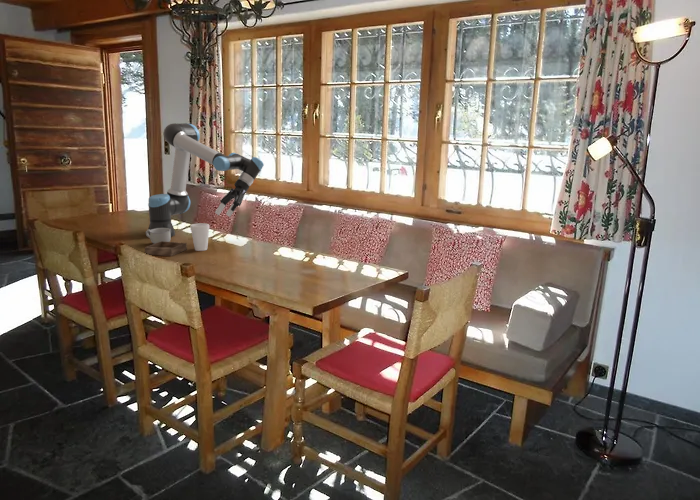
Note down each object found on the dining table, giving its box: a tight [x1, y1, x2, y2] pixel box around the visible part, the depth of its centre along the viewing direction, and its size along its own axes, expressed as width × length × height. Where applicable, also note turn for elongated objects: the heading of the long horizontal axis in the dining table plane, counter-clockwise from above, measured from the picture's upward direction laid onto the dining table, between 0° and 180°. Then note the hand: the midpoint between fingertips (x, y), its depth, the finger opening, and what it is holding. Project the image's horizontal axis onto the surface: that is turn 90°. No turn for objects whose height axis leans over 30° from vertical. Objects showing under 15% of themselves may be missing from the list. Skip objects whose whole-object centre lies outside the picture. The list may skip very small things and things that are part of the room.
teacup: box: [145, 228, 172, 244], centre depth 290 cm, size 14×11×8 cm
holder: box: [144, 241, 188, 257], centre depth 274 cm, size 15×15×4 cm
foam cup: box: [189, 222, 210, 252], centre depth 279 cm, size 10×9×13 cm
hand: (222, 214), depth 286 cm, fingers open, 13 cm apart
